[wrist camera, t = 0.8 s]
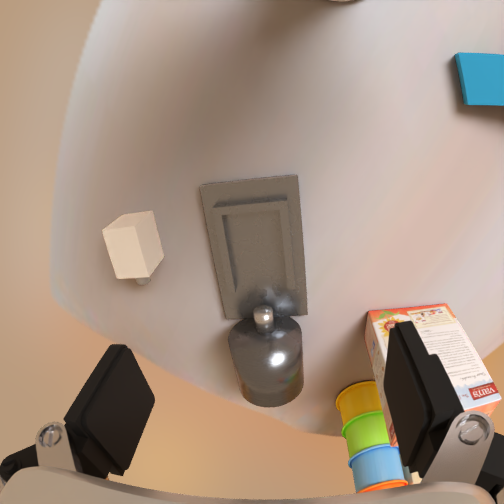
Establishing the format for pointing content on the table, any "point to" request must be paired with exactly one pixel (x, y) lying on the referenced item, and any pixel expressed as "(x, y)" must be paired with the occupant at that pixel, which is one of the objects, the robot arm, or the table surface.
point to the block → (134, 246)
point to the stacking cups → (368, 439)
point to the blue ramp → (481, 78)
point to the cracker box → (436, 342)
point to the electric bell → (260, 281)
